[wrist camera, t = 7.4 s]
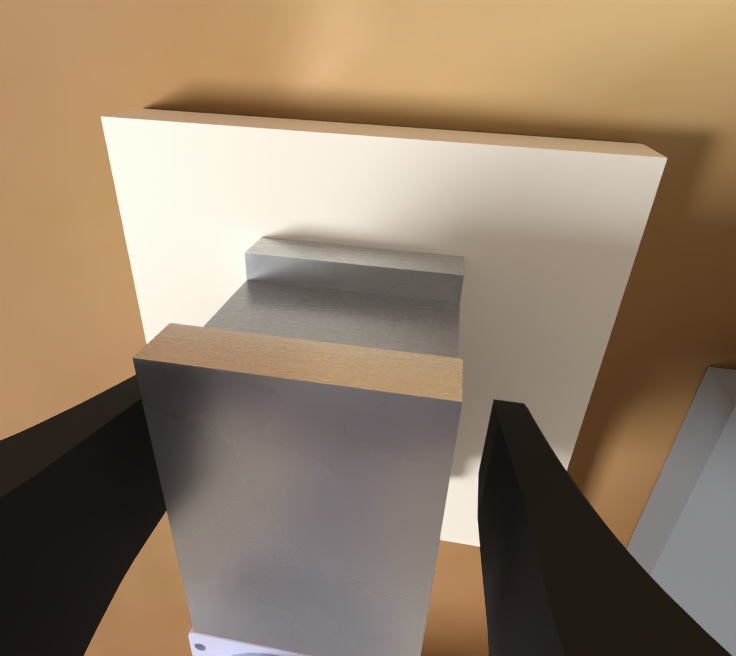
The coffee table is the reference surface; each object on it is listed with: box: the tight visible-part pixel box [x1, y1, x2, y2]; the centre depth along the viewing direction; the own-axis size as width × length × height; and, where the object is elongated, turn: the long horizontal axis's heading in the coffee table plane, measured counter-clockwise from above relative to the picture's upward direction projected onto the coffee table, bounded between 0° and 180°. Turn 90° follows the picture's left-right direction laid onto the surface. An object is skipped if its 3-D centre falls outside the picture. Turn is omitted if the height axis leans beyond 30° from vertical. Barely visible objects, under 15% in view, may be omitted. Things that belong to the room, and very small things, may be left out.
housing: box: [133, 237, 464, 656], centre depth 10 cm, size 6×4×5 cm
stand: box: [101, 108, 667, 546], centre depth 13 cm, size 11×11×2 cm
